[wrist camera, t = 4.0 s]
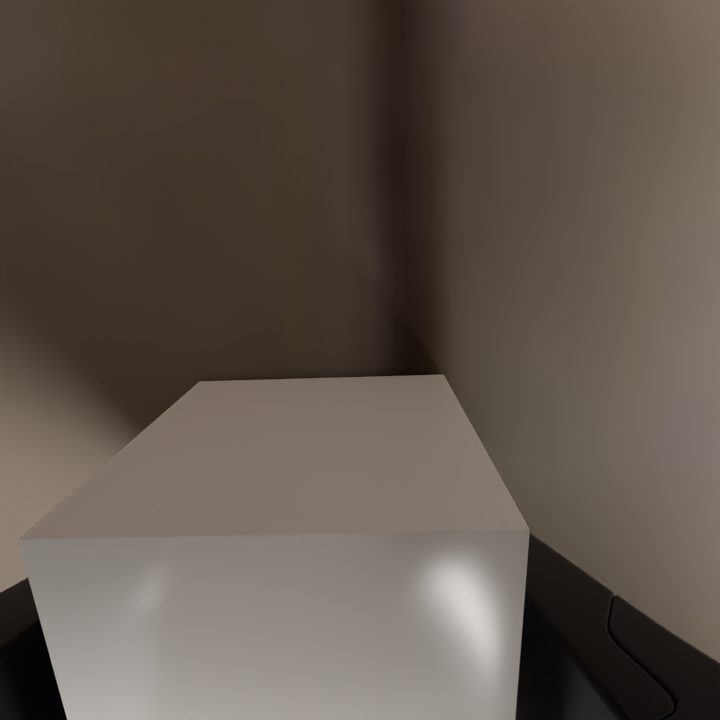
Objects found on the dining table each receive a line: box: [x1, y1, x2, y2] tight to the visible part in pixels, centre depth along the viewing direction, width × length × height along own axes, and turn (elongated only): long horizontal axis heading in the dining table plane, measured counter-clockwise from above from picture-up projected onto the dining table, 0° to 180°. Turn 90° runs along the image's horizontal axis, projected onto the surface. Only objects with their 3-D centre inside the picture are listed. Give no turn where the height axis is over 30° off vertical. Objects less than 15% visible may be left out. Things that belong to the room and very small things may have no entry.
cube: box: [18, 375, 530, 720], centre depth 7 cm, size 5×5×5 cm
